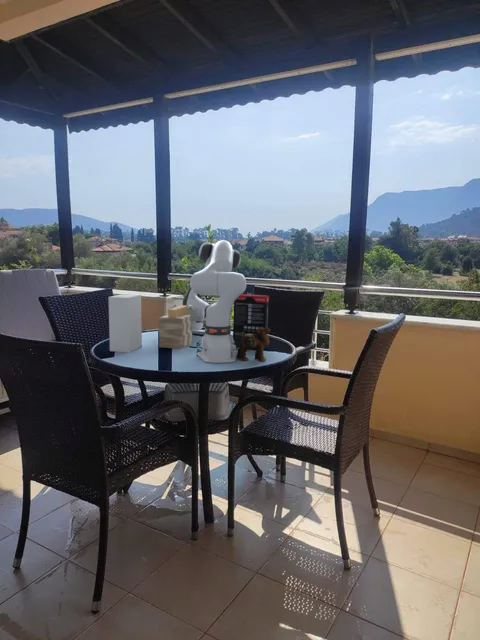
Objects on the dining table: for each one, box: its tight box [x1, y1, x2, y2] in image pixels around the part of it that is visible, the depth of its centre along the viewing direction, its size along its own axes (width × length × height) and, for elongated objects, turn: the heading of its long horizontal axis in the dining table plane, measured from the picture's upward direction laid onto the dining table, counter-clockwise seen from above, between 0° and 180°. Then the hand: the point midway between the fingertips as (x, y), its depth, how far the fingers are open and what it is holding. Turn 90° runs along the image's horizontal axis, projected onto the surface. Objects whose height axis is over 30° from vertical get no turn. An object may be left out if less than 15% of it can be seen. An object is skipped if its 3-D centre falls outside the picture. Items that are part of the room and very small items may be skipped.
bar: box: [167, 304, 188, 318], centre depth 228 cm, size 19×4×4 cm, turn 168°
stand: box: [108, 293, 143, 353], centre depth 213 cm, size 14×10×26 cm
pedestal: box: [158, 314, 193, 350], centre depth 226 cm, size 16×12×15 cm
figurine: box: [236, 327, 271, 362], centre depth 197 cm, size 9×15×15 cm, turn 84°
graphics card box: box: [232, 293, 270, 351], centre depth 221 cm, size 17×7×27 cm, turn 76°
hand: (182, 306), depth 233 cm, fingers open, 8 cm apart
